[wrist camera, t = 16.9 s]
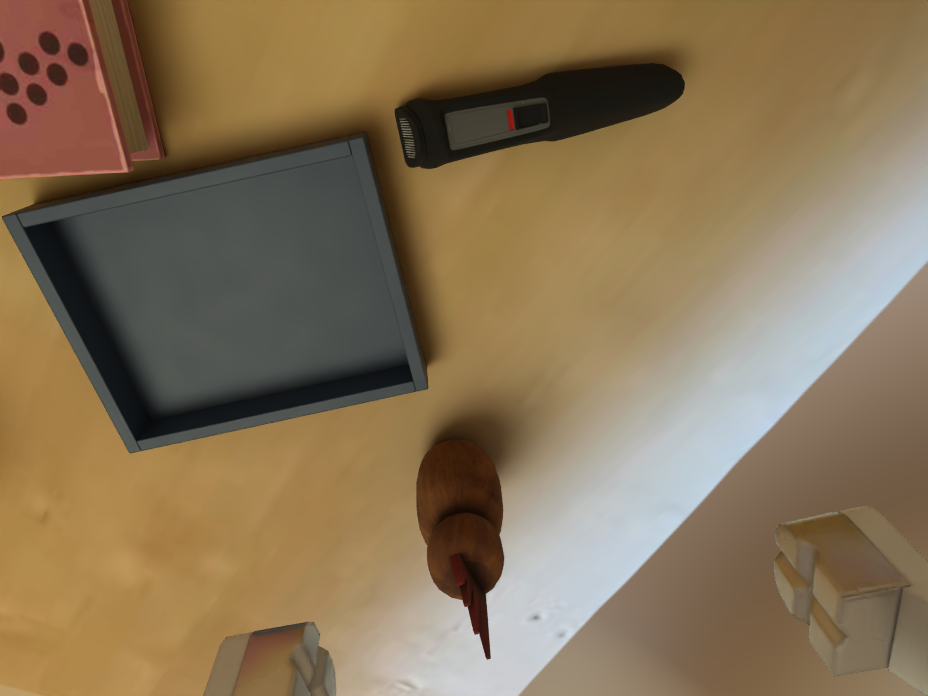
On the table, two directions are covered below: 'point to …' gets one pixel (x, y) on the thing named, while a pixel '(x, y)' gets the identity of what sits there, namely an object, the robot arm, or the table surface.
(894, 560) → the robot arm
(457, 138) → the electric trimmer
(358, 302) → the tray
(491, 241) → the table surface
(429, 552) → the wooden figurine
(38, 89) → the book
